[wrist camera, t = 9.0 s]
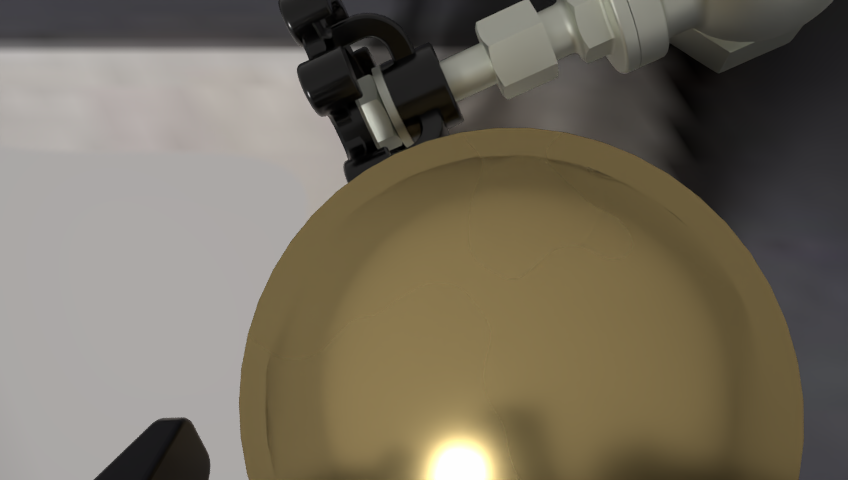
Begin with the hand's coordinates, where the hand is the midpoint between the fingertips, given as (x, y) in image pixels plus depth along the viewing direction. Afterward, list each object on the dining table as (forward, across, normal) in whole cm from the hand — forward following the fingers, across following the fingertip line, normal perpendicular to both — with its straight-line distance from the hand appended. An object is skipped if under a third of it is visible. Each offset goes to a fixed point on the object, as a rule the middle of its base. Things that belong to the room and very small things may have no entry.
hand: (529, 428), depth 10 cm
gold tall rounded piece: (+8, 0, +6) cm, 10 cm away
